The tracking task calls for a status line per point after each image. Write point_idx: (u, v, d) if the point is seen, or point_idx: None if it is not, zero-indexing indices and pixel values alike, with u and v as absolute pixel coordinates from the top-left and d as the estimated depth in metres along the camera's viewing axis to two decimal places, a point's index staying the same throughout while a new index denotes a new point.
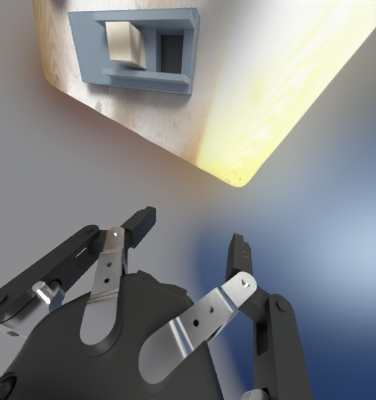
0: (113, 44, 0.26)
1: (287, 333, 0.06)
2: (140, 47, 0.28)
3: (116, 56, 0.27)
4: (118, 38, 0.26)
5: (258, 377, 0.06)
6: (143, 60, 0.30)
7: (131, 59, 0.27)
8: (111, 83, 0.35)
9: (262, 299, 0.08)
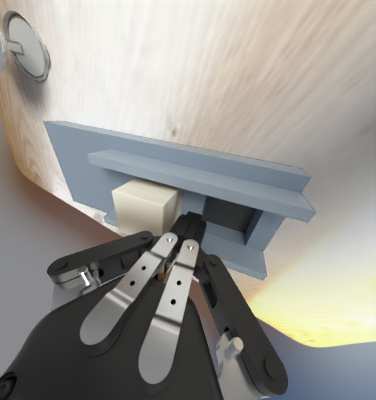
0: (127, 220, 0.13)
1: (223, 278, 0.08)
2: (176, 207, 0.15)
3: (132, 233, 0.14)
4: (138, 217, 0.13)
5: (219, 323, 0.08)
6: (178, 214, 0.17)
7: None
8: None
9: (202, 259, 0.10)
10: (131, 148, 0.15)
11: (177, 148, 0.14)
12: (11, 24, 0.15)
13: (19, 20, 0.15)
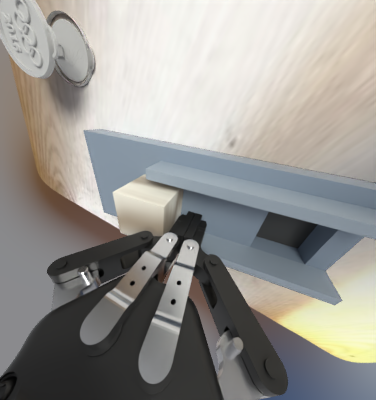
0: (128, 220, 0.13)
1: (223, 278, 0.08)
2: (176, 208, 0.15)
3: None
4: (139, 218, 0.13)
5: (219, 323, 0.08)
6: (178, 215, 0.17)
7: None
8: None
9: (202, 259, 0.10)
10: (186, 161, 0.14)
11: (243, 162, 0.13)
12: (54, 25, 0.14)
13: (65, 21, 0.13)
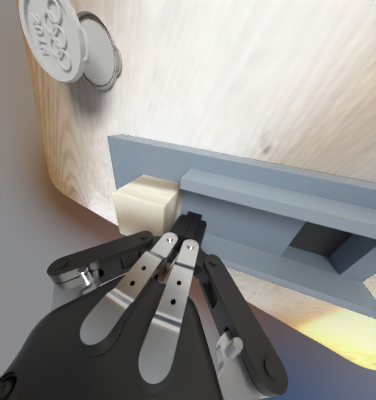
0: (127, 221, 0.13)
1: (223, 278, 0.08)
2: (176, 208, 0.15)
3: None
4: (139, 219, 0.13)
5: (219, 323, 0.08)
6: (178, 215, 0.17)
7: None
8: None
9: (202, 259, 0.10)
10: (219, 169, 0.13)
11: (283, 170, 0.12)
12: None
13: (92, 22, 0.13)
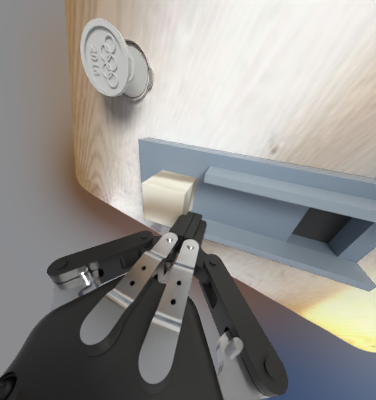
0: (152, 207, 0.16)
1: (223, 278, 0.08)
2: (191, 198, 0.18)
3: (155, 219, 0.17)
4: (162, 204, 0.16)
5: (219, 323, 0.08)
6: (191, 205, 0.20)
7: None
8: None
9: (202, 259, 0.10)
10: (234, 166, 0.16)
11: (288, 167, 0.15)
12: None
13: (131, 47, 0.16)
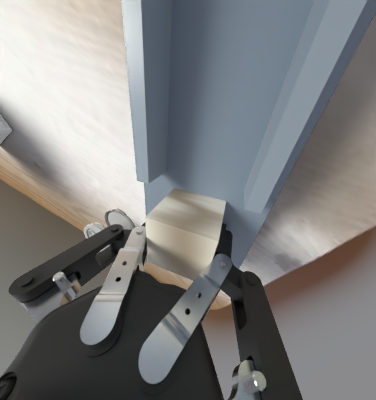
0: (179, 265, 0.11)
1: (259, 302, 0.07)
2: (190, 202, 0.11)
3: (201, 270, 0.10)
4: (171, 251, 0.10)
5: (242, 349, 0.07)
6: (212, 201, 0.12)
7: (215, 239, 0.08)
8: (269, 203, 0.11)
9: (236, 276, 0.09)
10: None
11: None
12: None
13: (108, 218, 0.24)
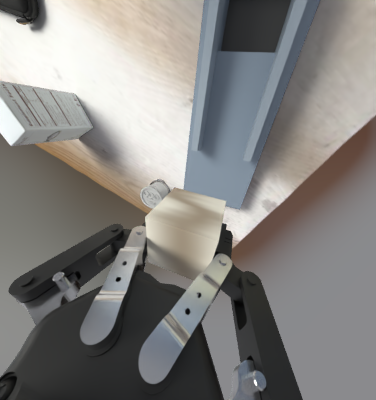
0: (180, 265, 0.11)
1: (259, 302, 0.07)
2: (190, 202, 0.11)
3: (201, 270, 0.10)
4: (171, 250, 0.10)
5: (242, 349, 0.07)
6: (212, 201, 0.12)
7: (215, 239, 0.08)
8: (255, 162, 0.22)
9: (236, 276, 0.09)
10: None
11: (195, 87, 0.21)
12: None
13: (151, 187, 0.35)
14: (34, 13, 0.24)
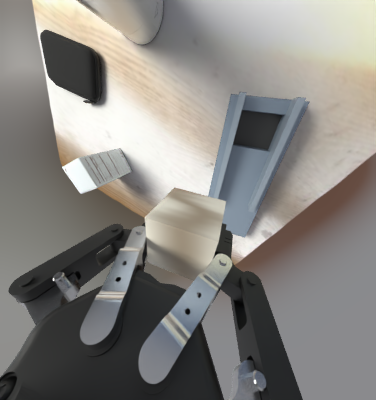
0: (179, 266, 0.11)
1: (259, 302, 0.07)
2: (190, 202, 0.11)
3: (201, 271, 0.10)
4: (171, 251, 0.10)
5: (242, 349, 0.07)
6: (212, 202, 0.12)
7: (215, 239, 0.08)
8: (257, 208, 0.32)
9: (236, 276, 0.09)
10: (215, 184, 0.33)
11: (216, 161, 0.30)
12: None
13: None
14: (98, 99, 0.33)
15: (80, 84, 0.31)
